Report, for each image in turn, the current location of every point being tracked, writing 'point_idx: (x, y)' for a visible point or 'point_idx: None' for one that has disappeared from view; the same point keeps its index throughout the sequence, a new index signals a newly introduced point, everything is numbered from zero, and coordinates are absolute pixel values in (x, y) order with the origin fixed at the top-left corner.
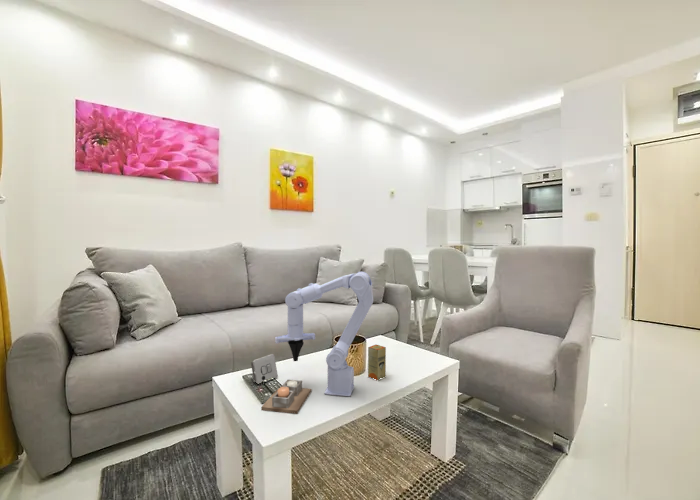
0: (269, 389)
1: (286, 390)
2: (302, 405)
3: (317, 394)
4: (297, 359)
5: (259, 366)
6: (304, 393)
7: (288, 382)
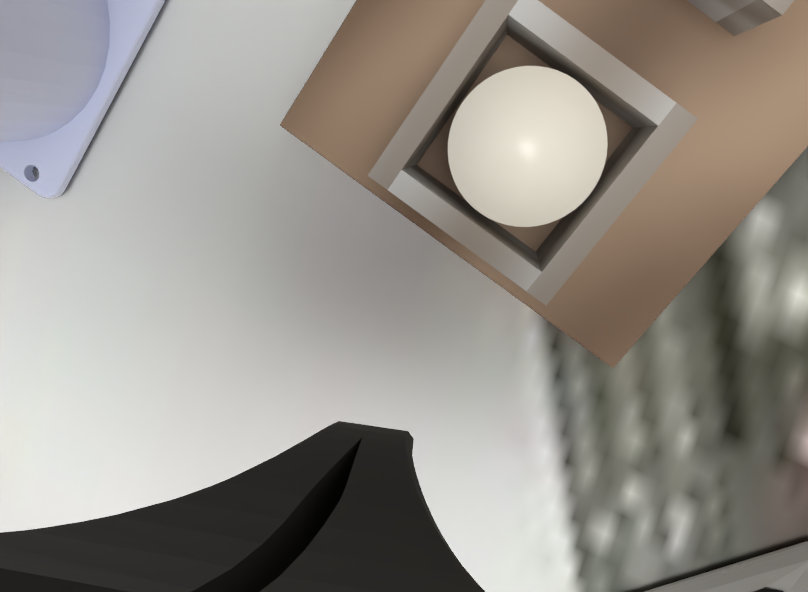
0: (727, 394)
1: None
2: None
3: (246, 24)
4: (332, 426)
5: None
6: (394, 33)
7: (578, 170)
